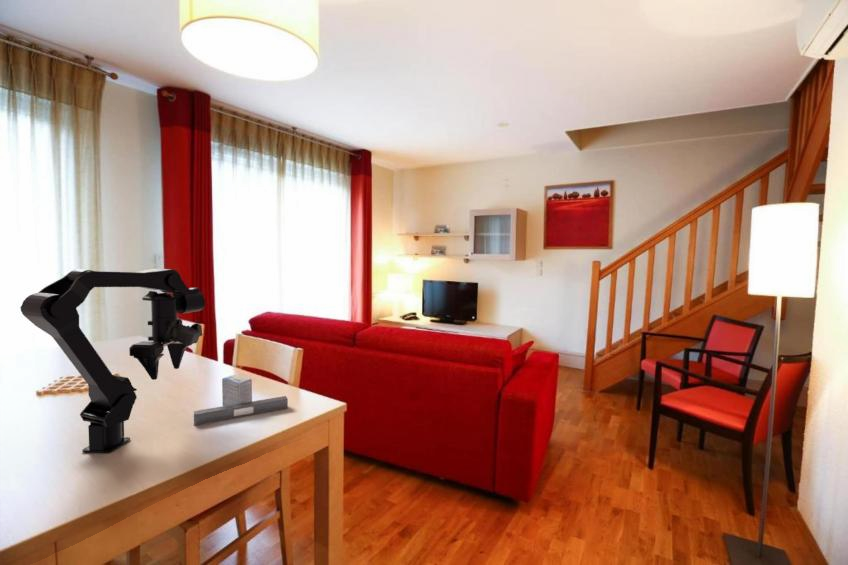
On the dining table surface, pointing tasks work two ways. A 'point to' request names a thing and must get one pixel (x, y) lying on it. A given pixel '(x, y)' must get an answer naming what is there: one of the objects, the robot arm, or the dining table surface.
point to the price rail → (239, 410)
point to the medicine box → (236, 390)
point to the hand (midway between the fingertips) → (166, 373)
